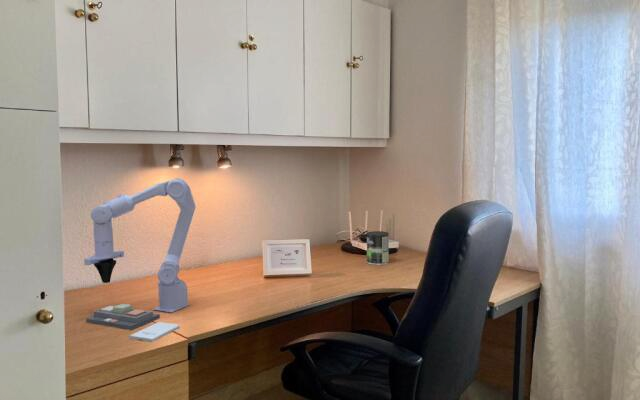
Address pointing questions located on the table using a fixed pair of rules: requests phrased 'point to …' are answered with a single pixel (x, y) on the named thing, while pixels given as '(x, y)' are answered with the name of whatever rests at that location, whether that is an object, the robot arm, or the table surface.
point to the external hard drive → (154, 332)
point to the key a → (107, 309)
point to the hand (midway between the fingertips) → (106, 282)
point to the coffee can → (377, 248)
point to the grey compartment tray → (122, 319)
